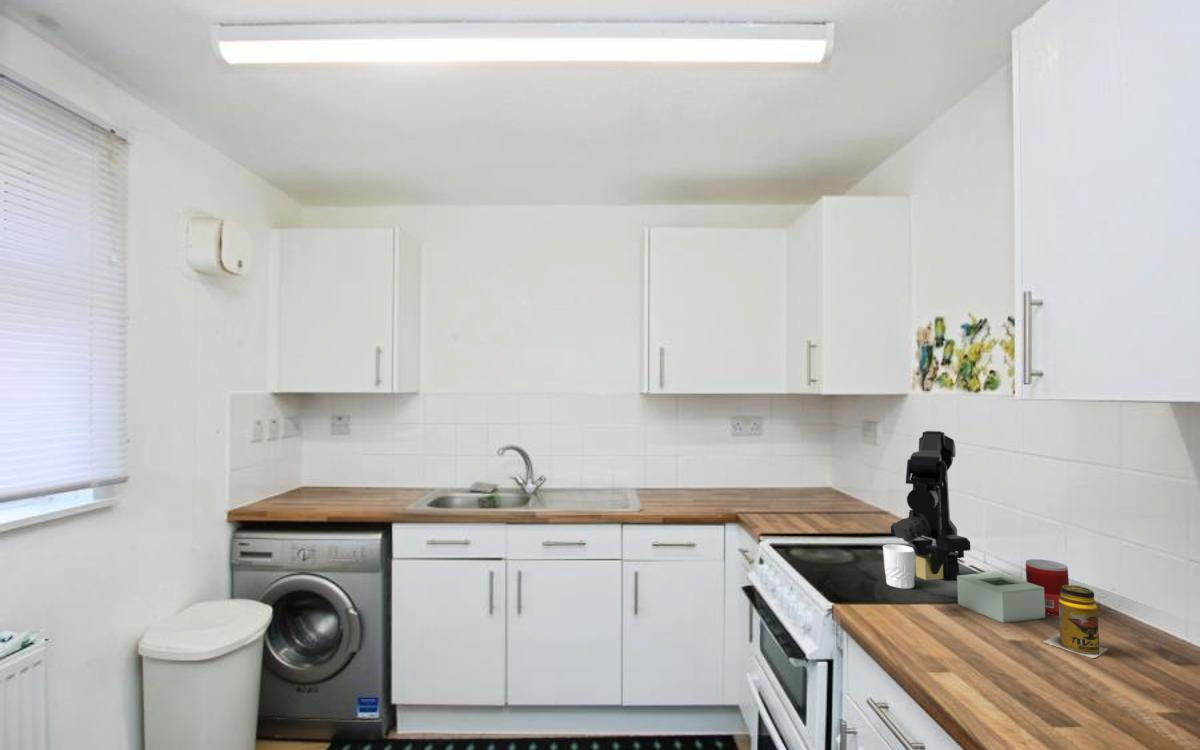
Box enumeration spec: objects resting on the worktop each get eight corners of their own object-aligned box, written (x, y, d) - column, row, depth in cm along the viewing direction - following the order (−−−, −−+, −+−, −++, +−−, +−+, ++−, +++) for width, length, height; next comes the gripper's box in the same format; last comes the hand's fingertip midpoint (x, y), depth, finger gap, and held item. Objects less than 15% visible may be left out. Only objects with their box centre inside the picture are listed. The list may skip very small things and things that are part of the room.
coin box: (958, 604, 136) (956, 575, 136) (997, 600, 139) (996, 572, 139) (1003, 623, 124) (1002, 591, 125) (1045, 618, 127) (1044, 587, 127)
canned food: (1078, 616, 128) (1076, 568, 129) (1044, 615, 128) (1041, 568, 129) (1052, 604, 136) (1050, 559, 137) (1019, 604, 136) (1017, 559, 137)
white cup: (891, 578, 156) (890, 542, 157) (921, 585, 150) (920, 548, 151) (878, 584, 151) (877, 547, 152) (909, 591, 145) (908, 553, 146)
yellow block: (916, 576, 134) (915, 555, 135) (933, 574, 135) (932, 554, 136) (925, 579, 131) (925, 558, 132) (943, 578, 132) (942, 557, 133)
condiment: (1094, 659, 107) (1091, 596, 108) (1042, 643, 114) (1039, 584, 115) (1108, 650, 111) (1105, 589, 111) (1056, 635, 118) (1054, 578, 119)
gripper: (871, 501, 142) (873, 563, 141) (930, 516, 123) (932, 586, 123) (908, 500, 144) (910, 560, 143) (971, 513, 126) (973, 583, 125)
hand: (929, 571), depth 133 cm, fingers closed on yellow block, 3 cm apart
